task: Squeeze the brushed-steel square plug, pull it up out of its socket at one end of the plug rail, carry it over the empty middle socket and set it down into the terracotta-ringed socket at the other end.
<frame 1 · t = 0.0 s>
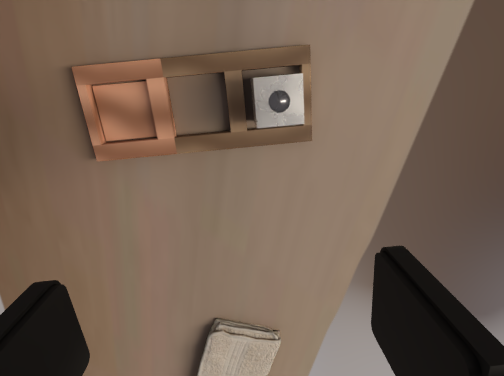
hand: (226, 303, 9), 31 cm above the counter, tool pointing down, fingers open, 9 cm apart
steel plug: (272, 98, 37), resting in plug rail
plug rail: (199, 104, 37), on the counter
washcloth: (234, 358, 52), on the counter
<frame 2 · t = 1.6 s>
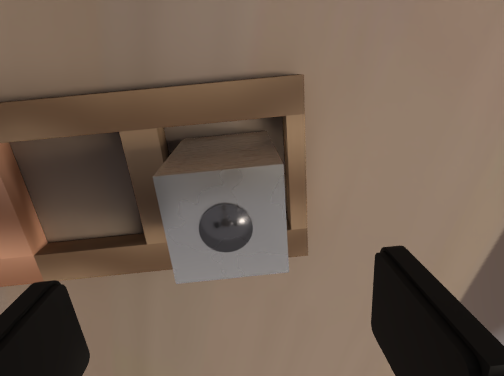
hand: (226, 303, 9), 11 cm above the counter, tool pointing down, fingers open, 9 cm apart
steel plug: (229, 174, 19), resting in plug rail
plug rail: (85, 188, 19), on the counter
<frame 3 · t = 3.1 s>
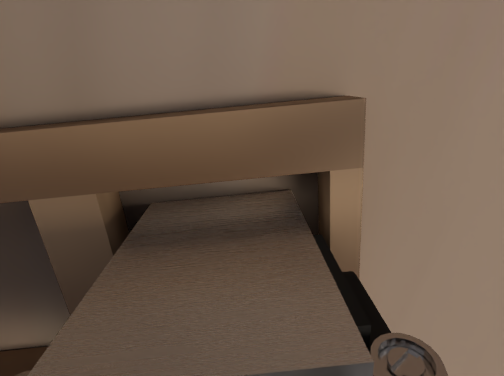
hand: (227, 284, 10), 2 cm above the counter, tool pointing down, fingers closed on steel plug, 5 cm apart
steel plug: (229, 256, 12), resting in plug rail, touching gripper
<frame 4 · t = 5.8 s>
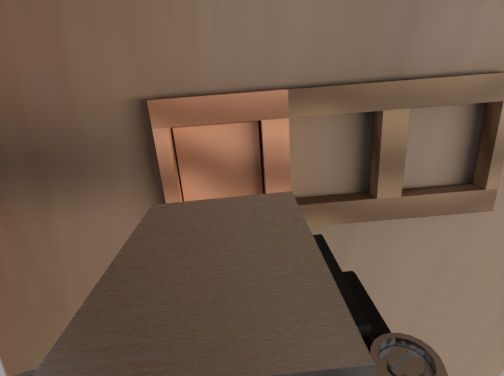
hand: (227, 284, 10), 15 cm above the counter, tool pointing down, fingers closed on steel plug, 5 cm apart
steel plug: (229, 257, 12), point 14 cm above the counter, touching gripper
plug rail: (329, 156, 25), on the counter
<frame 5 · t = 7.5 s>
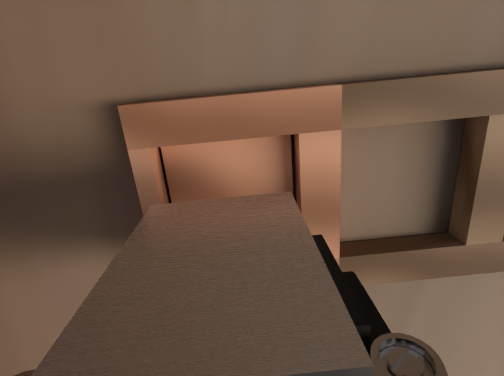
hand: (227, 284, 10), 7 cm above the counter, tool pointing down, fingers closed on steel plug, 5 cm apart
steel plug: (229, 258, 12), point 5 cm above the counter, touching gripper
plug rail: (394, 182, 17), on the counter
when the fingers open (3 cm above the counter, at t = 8.7 s): steel plug stays where it is, resting on plug rail.
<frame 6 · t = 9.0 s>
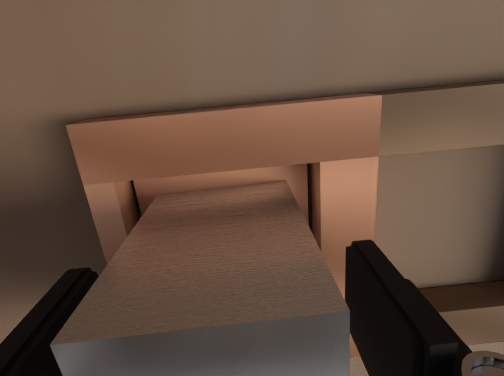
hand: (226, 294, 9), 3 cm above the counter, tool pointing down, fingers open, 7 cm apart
steel plug: (230, 244, 12), resting on plug rail
plug rail: (440, 220, 13), on the counter
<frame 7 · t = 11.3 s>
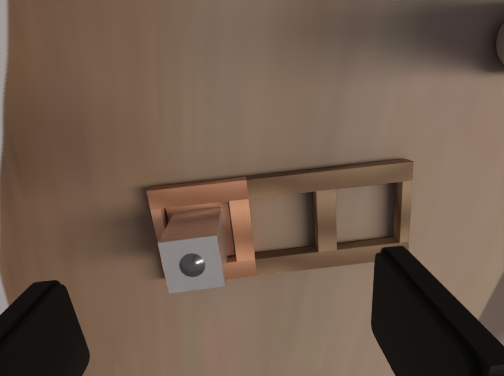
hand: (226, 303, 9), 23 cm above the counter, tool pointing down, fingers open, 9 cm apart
steel plug: (201, 230, 33), resting on plug rail
plug rail: (282, 220, 33), on the counter
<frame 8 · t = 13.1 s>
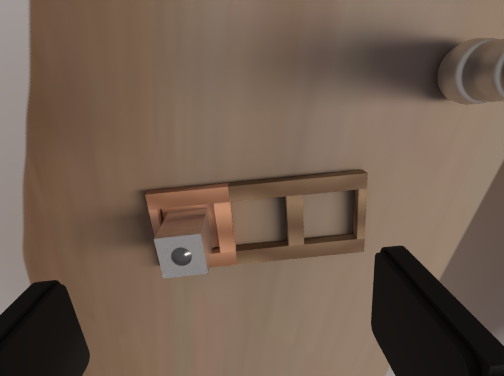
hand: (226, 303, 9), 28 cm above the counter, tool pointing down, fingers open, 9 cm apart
plastic bottle: (455, 73, 35), on the counter
steel plug: (191, 227, 39), resting on plug rail
plug rail: (259, 219, 39), on the counter
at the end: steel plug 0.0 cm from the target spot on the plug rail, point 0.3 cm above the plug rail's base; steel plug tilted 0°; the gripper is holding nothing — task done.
